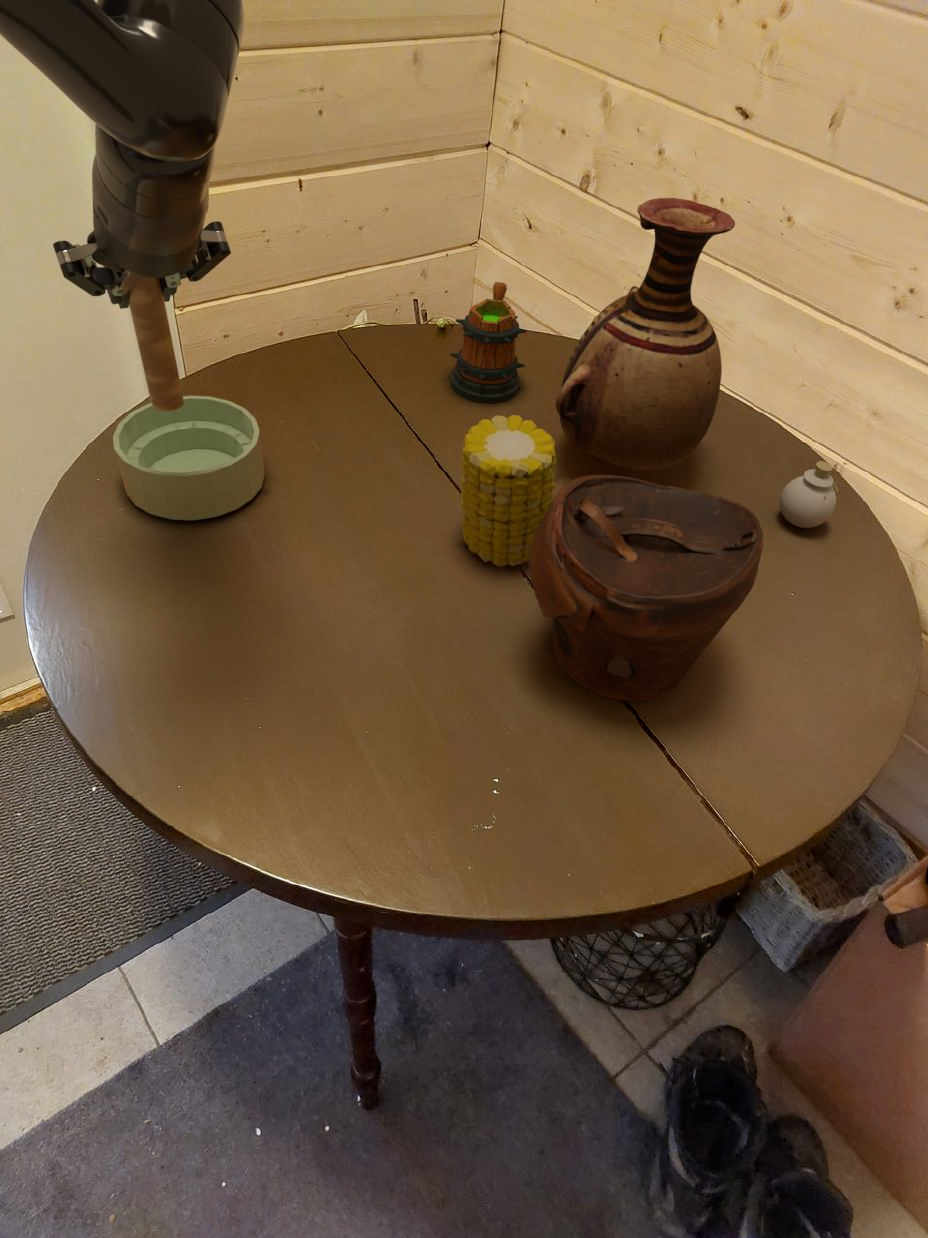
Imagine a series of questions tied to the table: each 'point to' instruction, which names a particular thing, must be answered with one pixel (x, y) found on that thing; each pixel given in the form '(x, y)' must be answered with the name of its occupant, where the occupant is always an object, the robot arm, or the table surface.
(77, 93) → the robot arm
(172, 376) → the stick
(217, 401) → the bowl
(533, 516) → the food
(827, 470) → the ornament
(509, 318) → the mug
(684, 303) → the vase
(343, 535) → the table surface
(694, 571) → the case
